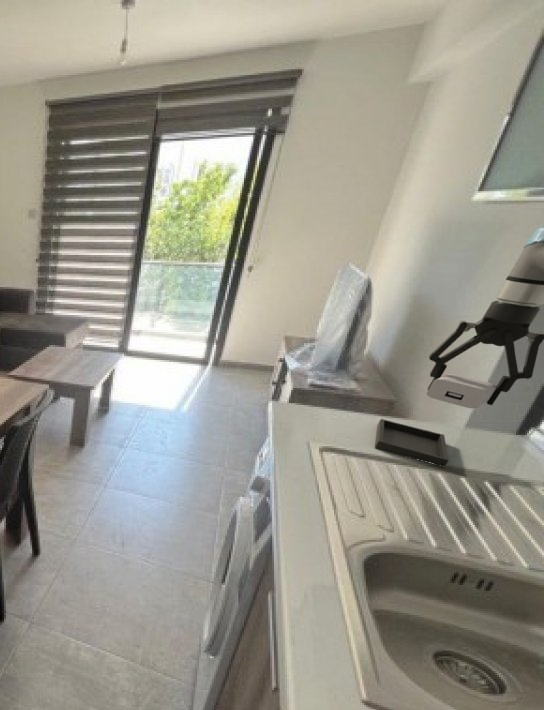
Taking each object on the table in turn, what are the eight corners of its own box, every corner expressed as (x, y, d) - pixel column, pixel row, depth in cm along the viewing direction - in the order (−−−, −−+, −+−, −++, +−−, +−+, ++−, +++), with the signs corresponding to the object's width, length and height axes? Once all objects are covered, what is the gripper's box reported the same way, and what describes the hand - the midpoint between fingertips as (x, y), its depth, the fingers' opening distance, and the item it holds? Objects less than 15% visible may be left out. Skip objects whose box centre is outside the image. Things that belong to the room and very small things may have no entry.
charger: (493, 399, 116) (476, 410, 109) (444, 386, 123) (424, 396, 115) (505, 381, 114) (488, 390, 106) (455, 369, 121) (435, 377, 113)
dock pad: (439, 441, 125) (444, 434, 125) (444, 467, 113) (448, 460, 112) (377, 425, 133) (380, 418, 132) (374, 448, 120) (378, 441, 119)
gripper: (590, 310, 101) (522, 406, 112) (447, 292, 114) (399, 380, 125) (599, 315, 96) (527, 415, 107) (449, 295, 109) (398, 387, 120)
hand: (458, 396), depth 116 cm, fingers closed on charger, 10 cm apart
